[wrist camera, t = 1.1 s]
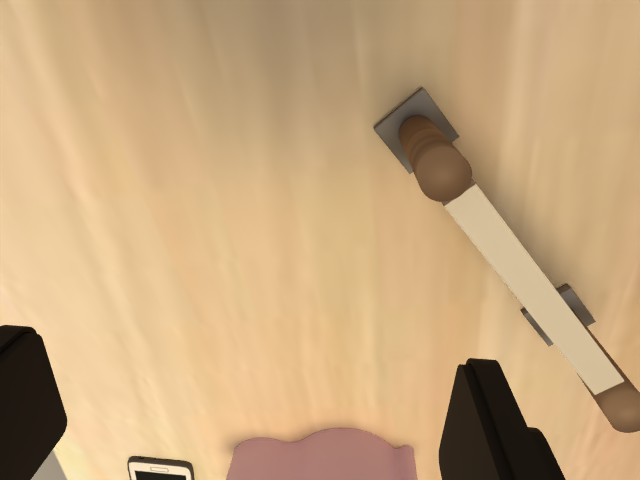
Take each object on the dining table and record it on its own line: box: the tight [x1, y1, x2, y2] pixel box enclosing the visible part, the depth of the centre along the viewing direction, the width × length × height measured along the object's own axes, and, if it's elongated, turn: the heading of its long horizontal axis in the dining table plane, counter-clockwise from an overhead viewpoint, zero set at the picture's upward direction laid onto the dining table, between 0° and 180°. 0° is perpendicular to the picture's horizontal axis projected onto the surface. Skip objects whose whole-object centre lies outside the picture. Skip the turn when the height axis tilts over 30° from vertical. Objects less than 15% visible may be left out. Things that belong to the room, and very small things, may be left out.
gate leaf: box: [442, 178, 624, 395], centre depth 30 cm, size 17×2×9 cm, turn 41°
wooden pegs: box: [374, 87, 640, 433], centre depth 30 cm, size 25×4×12 cm, turn 41°
